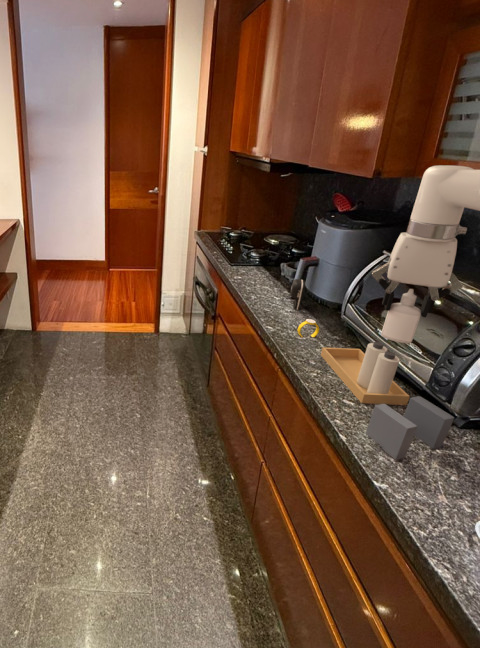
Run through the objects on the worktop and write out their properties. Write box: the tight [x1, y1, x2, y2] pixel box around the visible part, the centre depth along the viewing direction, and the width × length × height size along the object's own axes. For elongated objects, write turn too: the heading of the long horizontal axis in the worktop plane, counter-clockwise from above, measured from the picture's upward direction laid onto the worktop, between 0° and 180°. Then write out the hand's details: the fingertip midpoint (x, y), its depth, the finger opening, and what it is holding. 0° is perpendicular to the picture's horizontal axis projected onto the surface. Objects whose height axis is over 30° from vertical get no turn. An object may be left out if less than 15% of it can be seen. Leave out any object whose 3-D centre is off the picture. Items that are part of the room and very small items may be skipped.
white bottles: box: [357, 341, 400, 394], centre depth 94 cm, size 8×4×12 cm, turn 176°
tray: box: [320, 347, 411, 406], centre depth 101 cm, size 21×10×3 cm, turn 176°
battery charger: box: [289, 278, 306, 314], centre depth 138 cm, size 7×4×11 cm, turn 155°
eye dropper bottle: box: [380, 288, 422, 345], centre depth 84 cm, size 4×6×12 cm
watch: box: [297, 318, 320, 338], centre depth 121 cm, size 6×3×6 cm, turn 87°
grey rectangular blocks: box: [365, 395, 455, 461], centre depth 80 cm, size 12×7×8 cm, turn 105°
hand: (404, 310), depth 84 cm, fingers closed on eye dropper bottle, 5 cm apart
